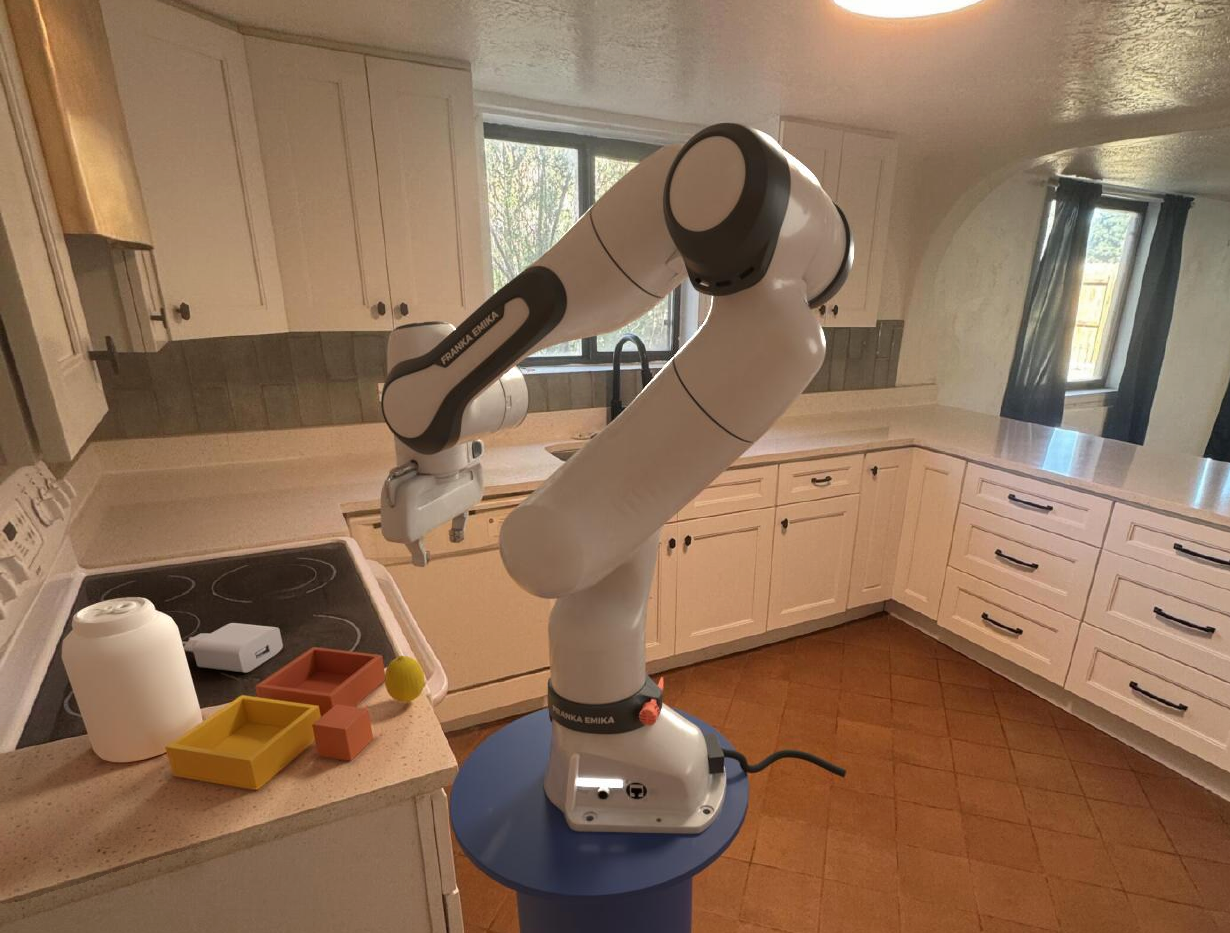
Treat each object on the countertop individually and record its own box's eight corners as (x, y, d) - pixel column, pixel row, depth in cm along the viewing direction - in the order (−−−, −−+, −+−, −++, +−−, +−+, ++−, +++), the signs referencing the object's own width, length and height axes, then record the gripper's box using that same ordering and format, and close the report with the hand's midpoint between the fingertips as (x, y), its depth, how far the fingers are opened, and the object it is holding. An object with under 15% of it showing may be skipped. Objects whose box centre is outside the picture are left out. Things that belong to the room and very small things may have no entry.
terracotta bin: (386, 679, 112) (382, 655, 110) (335, 723, 100) (330, 696, 99) (317, 671, 114) (313, 646, 113) (260, 712, 103) (254, 686, 101)
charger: (210, 641, 124) (284, 649, 121) (166, 666, 116) (244, 675, 113) (204, 617, 122) (278, 624, 120) (159, 640, 114) (237, 649, 111)
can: (208, 704, 105) (175, 582, 98) (199, 749, 94) (162, 616, 87) (106, 725, 100) (63, 598, 92) (85, 776, 89) (35, 636, 82)
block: (373, 739, 97) (368, 708, 95) (351, 761, 92) (345, 729, 90) (342, 734, 98) (336, 704, 96) (318, 756, 93) (311, 724, 91)
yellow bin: (324, 732, 98) (318, 705, 97) (257, 790, 87) (249, 760, 85) (248, 721, 101) (241, 694, 99) (173, 776, 89) (164, 746, 88)
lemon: (408, 689, 109) (401, 644, 106) (434, 698, 107) (428, 652, 104) (380, 707, 104) (372, 660, 102) (407, 716, 102) (400, 668, 99)
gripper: (408, 474, 80) (419, 584, 85) (489, 440, 98) (494, 532, 103) (360, 469, 81) (374, 578, 86) (449, 436, 100) (456, 527, 105)
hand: (440, 552), depth 95 cm, fingers open, 8 cm apart
